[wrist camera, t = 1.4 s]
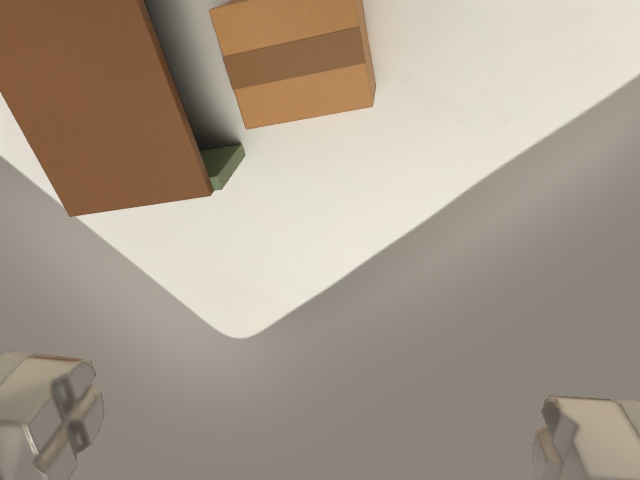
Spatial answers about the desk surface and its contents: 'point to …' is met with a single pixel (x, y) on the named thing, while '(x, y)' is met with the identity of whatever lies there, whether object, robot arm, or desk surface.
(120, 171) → the cabinet
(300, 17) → the cardboard box
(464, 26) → the desk surface
